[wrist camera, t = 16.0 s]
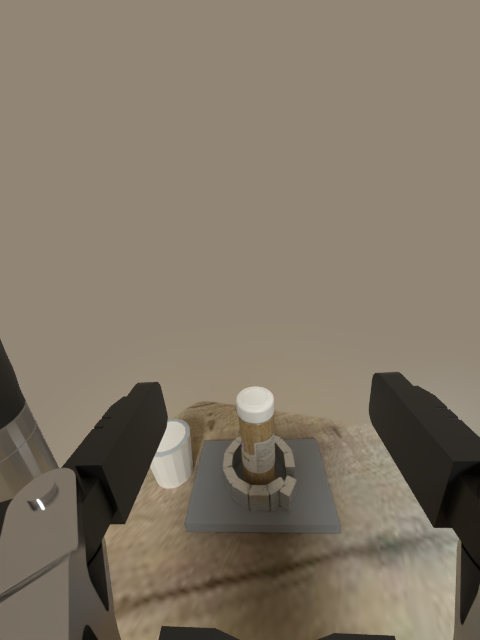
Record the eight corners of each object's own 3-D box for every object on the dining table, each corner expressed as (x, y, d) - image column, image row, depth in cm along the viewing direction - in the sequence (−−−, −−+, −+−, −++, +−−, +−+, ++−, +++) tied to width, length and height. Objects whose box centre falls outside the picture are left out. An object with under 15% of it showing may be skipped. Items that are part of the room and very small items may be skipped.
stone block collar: (221, 513, 30) (218, 496, 29) (229, 446, 39) (227, 432, 38) (300, 513, 29) (300, 496, 28) (289, 445, 38) (289, 431, 37)
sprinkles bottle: (238, 467, 35) (230, 390, 30) (267, 456, 36) (264, 381, 31) (250, 498, 31) (243, 415, 26) (282, 484, 32) (281, 403, 27)
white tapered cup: (142, 475, 37) (131, 440, 35) (179, 444, 42) (171, 411, 39) (169, 503, 33) (158, 466, 30) (206, 465, 38) (199, 430, 35)
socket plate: (186, 531, 30) (184, 523, 29) (205, 447, 41) (204, 440, 40) (339, 533, 28) (340, 525, 28) (315, 445, 39) (315, 438, 39)
